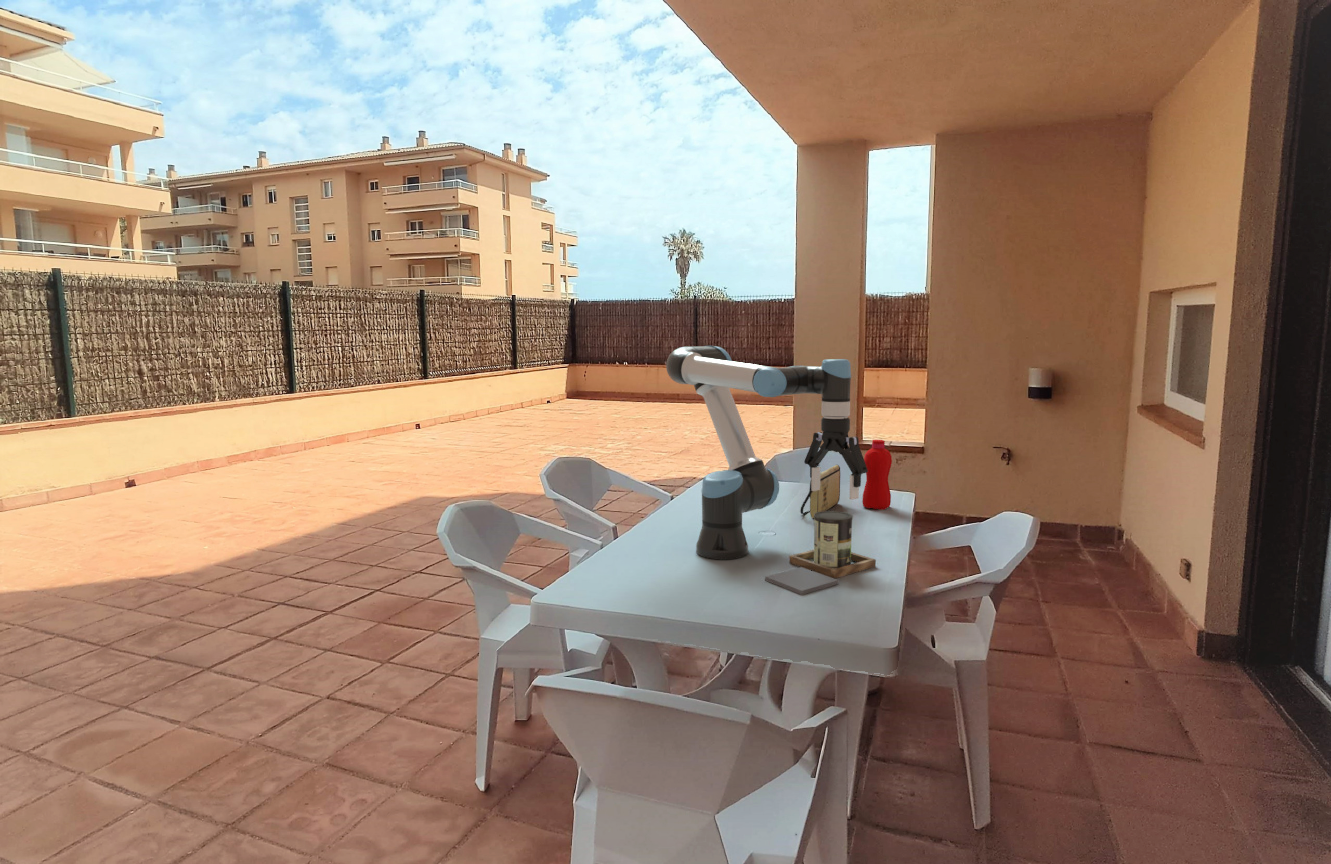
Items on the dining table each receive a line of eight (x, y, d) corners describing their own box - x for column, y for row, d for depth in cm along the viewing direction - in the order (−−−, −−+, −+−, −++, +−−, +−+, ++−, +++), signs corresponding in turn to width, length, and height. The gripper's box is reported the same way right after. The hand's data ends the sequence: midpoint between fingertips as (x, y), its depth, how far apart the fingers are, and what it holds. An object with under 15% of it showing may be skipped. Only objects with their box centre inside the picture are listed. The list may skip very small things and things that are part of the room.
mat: (801, 594, 176) (801, 590, 176) (765, 580, 187) (765, 576, 187) (838, 583, 183) (838, 580, 183) (801, 570, 194) (801, 567, 194)
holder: (834, 578, 187) (834, 571, 187) (789, 562, 201) (789, 555, 201) (875, 566, 197) (875, 559, 197) (829, 552, 210) (830, 545, 210)
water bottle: (893, 505, 267) (896, 438, 263) (885, 511, 257) (887, 442, 254) (868, 502, 271) (870, 436, 268) (860, 508, 262) (861, 440, 259)
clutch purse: (823, 501, 274) (823, 462, 272) (841, 503, 271) (842, 464, 269) (795, 518, 249) (796, 476, 247) (815, 521, 245) (816, 478, 243)
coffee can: (846, 559, 204) (847, 510, 202) (855, 570, 194) (856, 519, 192) (809, 559, 204) (810, 510, 202) (816, 570, 194) (817, 519, 192)
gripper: (882, 419, 185) (880, 500, 188) (811, 412, 206) (810, 485, 208) (863, 422, 181) (861, 504, 184) (792, 414, 201) (791, 488, 204)
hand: (834, 494), depth 196 cm, fingers open, 13 cm apart
